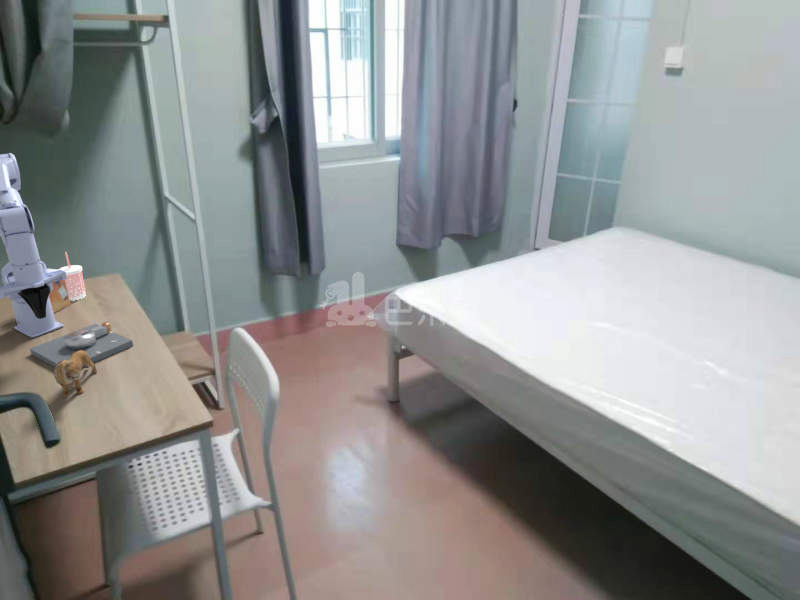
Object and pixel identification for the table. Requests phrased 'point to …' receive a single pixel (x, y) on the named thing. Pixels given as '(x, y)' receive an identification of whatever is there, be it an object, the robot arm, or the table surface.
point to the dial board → (100, 350)
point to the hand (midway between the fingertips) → (40, 317)
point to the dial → (86, 337)
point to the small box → (58, 294)
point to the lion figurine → (72, 371)
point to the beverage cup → (74, 281)
